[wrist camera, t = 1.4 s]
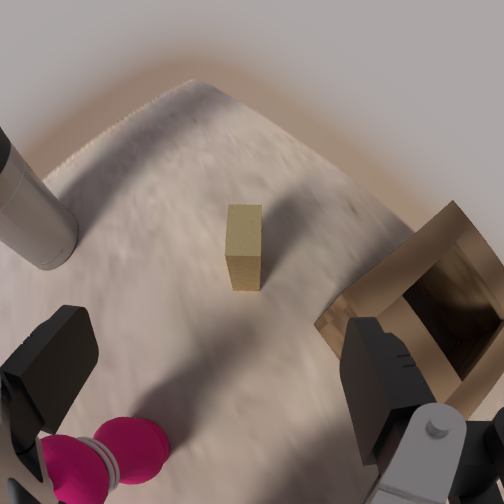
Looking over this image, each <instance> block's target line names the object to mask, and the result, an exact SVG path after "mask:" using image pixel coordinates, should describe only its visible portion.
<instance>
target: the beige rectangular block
mask: <svg viewBox="0 0 504 504" xmlns="http://www.w3.org/2000/svg"><path fill="white" fill-rule="evenodd" d="M261 215H262V205H228V217H227V232H226V247H225V258H226V262H227V266H228V271H229V275H230V279H231V283H232V288H233V291H260V271H261Z"/></svg>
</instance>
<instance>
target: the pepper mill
mask: <svg viewBox="0 0 504 504" xmlns="http://www.w3.org/2000/svg"><path fill="white" fill-rule="evenodd" d="M40 440H41V444H42V449H43V454H44V459H45V463H46V468H47V472H48V476H49V480H50V484H51V487H52V490H53V492H54V494H55V496H56V498H57V499H58V500H60V501H62V502H65V503H67V504H104V502H105V500H106V498H107V496H108V494H109V493H111V492H112V491H114V490H115V489H116V487H117V485H118V483H123V484H140V483H144V482H146V481H148V480H150V479H152V478H153V477H155V476H156V475H157V474H158V473H159V472H160V470H161V468H162V466H163V464H164V463H165V461H166V460H167V458H168V455H169V451H170V446H169V441H168V438H167V436H166V435H165V433H164V431H163V430H162V429H161V428H160V427H159V426H158V425H157V424H155V423H154V422H152V421H149V420H147V419H141V418H136V419H134V418H130V417H118V418H115V419H112V420H109V421H107V422H105V423H104V424H103V425H101V427H100V428H99V429H98V430H97V431H96V433H95V435H94V437H93V439H92V438H89V437H78V438H74V437H70V436H67V435H58V434H57V435H50V436H47V437H44V438H42V439H40Z"/></svg>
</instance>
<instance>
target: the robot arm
mask: <svg viewBox="0 0 504 504" xmlns="http://www.w3.org/2000/svg"><path fill="white" fill-rule="evenodd" d="M77 238H78V225H77V223H76V220H75V219H74V217H73V216H72V215H71V214H70V213H69V212H68V211H67V210H66V208H65V207H64V206H63V205H62V204H61V203H60V202H59V200H58V199H57V198H56V197H55V196H54V195H53V194H52V192H51V191H50V190H49V189H48V188H47V187H46V185H45V184H44V183H43V182H42V181H41V179H40V178H39V177H38V176H37V175H36V174H35V172H34V171H33V170H32V169H31V167H30V166H29V165H28V164H27V162H26V161H25V160H24V159H23V157H22V156H21V155H20V154H19V152H18V151H17V150H16V148H15V147H14V146H13V145H12V143H11V142H10V140H9V139H8V138H7V136H6V135H5V133H4V132H3V130H2V129H1V127H0V241H2V242H3V243H4V244H6V245H7V246H8V247H10V248H11V249H12V250H14V251H15V252H16V253H18V254H19V255H21V256H22V257H23V258H25V259H26V260H27V261H29V262H30V263H32V264H33V265H35V266H36V267H38V268H39V269H42V270H51V269H54V268H56V267H58V266H60V265H61V264H62V263H63V262H65V261H66V259H67V258H68V257H69V256H70V254H71V253H72V251H73V249H74V247H75V245H76V242H77ZM98 356H99V349H98V345H97V341H96V338H95V335H94V331H93V328H92V325H91V321H90V317H89V314H88V311H87V310H86V308H84V307H80V306H71V305H63V306H61V307H60V308H59V309H58V310H57V311H56V312H55V313H54V314H53V315H52V316H51V317H50V318H49V319H48V320H47V321H45V322H43V323H42V324H40V325H38V327H37V328H36V329H35V330H34V331H33V332H32V333H31V334H30V337H29V336H28V337H27V338H26V339H25V340H24V341H23V344H21V345H20V346H19V347H18V348H17V349H16V350H15V351H14V352H13V353H12V355H11V356H10V357H9V358H8V359H7V360H6V361H5V363H4V364H3V365H2V366H1V367H0V504H67V503H65V502H62V501H60V500H58V499H57V498H56V496H55V494H54V492H53V490H52V487H51V484H50V480H49V476H48V472H47V468H46V463H45V459H44V454H43V449H42V444H41V440H40V438H39V437H38V436H37V435H38V434H39V432H40V430H41V431H44V432H46V433H49V434H52V435H55V434H56V432H57V430H58V428H59V427H60V425H61V423H62V421H63V419H64V418H65V416H66V414H67V412H68V411H69V409H70V407H71V405H72V404H73V402H74V400H75V399H76V397H77V395H78V394H79V392H80V390H81V389H82V387H83V385H84V384H85V382H86V380H87V379H88V377H89V375H90V374H91V372H92V370H93V369H94V367H95V366H96V364H97V361H98ZM340 378H341V382H342V386H343V389H344V393H345V396H346V400H347V404H348V408H349V411H350V415H351V419H352V423H353V427H354V431H355V435H356V439H357V443H358V447H359V451H360V455H361V459H362V463H363V466H365V465H371V464H377V466H378V470H379V473H378V475H377V476H376V478H375V480H374V481H373V483H372V485H371V487H370V488H369V490H368V492H367V493H366V495H365V496H364V498H363V500H362V501H361V503H360V504H446V500H447V497H448V500H449V504H504V502H503V499H502V496H501V493H500V491H499V488H498V485H497V483H496V482H497V481H498V480H499V479H500V480H501V482H502V485H503V488H504V407H503V408H501V409H500V410H499V411H498V412H497V414H496V415H495V417H494V418H493V420H492V421H465V420H464V418H463V416H462V415H461V414H460V413H459V412H458V411H457V410H456V409H454V408H453V407H451V406H449V405H446V404H442V403H437V401H436V399H435V397H434V395H433V393H432V391H431V389H430V388H429V386H428V384H427V382H426V380H425V378H424V377H423V375H422V373H421V371H420V370H419V368H418V367H416V362H415V361H414V359H413V357H411V354H410V352H409V350H408V349H407V347H406V345H405V343H404V342H403V341H402V340H400V339H399V338H398V337H397V336H395V335H394V334H393V333H392V332H390V333H385V332H384V331H383V329H382V327H381V325H380V323H379V322H378V320H377V318H376V317H351V318H349V320H348V323H347V328H346V333H345V338H344V343H343V348H342V353H341V358H340Z"/></svg>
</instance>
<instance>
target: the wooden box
mask: <svg viewBox="0 0 504 504" xmlns="http://www.w3.org/2000/svg"><path fill="white" fill-rule="evenodd" d="M415 282H417V284H418V285H419V286H420V288H421V289H422V290H423V292H424V293H425V294H426V296H427V297H428V298H429V300H430V301H431V303H432V304H433V305H434V307H435V308H436V310H437V311H438V312H439V314H440V315H441V317H442V318H443V319H444V321H445V322H446V324H447V325H448V327H449V328H450V330H451V331H452V333H453V334H454V336H455V337H456V338H457V340H458V342H459V344H458V345H457V346H456V347H455V348H454V349H453V351H452V352H451V353H450V354H449V355H448V356H447V357H446V356H445V355H444V353H443V352H442V351H441V349H440V348H439V346H438V345H437V343H436V342H435V340H434V339H433V337H432V336H431V335H430V333H429V332H428V330H427V329H426V327H425V326H424V325H423V323H422V322H421V320H420V319H419V318H418V316H417V315H416V314H415V312H414V311H413V309H412V308H411V307H410V305H409V304H408V303H407V301H406V300H405V299H404V297H403V296H402V294H403V293H404V292H405V291H406V290H407V289H408V288H410V287H411V286H412V285H413V284H414V283H415ZM351 317H376V318H377V320H378V322H379V323H380V325H381V327H382V329H383V331H384V332H385V333H390V332H392V333H393V334H394V335H395V336H397V337H398V338H399V339H400V340H402V341H403V342H404V343H405V345H406V347H407V349H408V350H409V352H410V354H411V357H413V359H414V361H415V362H416V367H418V368H419V370H420V371H421V373H422V375H423V377H424V378H425V380H426V382H427V384H428V386H429V388H430V389H431V391H432V393H433V395H434V397H435V399H436V401H437V403H442V404H446V405H449V406H451V407H453V408H454V409H456V410H457V411H458V412H459V413H460V414H461V415H462V416H463V418H464V420H465V421H467V420H468V419H469V417H470V416H471V415H472V414H473V413H474V411H475V410H476V409H477V408H478V406H479V405H480V404H481V403H482V401H483V400H484V399H485V397H486V396H487V395H488V393H489V392H490V391H491V389H492V388H493V387H494V385H495V384H496V382H497V381H498V380H499V378H500V377H501V375H502V374H503V372H504V266H503V264H502V263H501V261H500V260H499V259H498V257H497V256H496V254H495V253H494V251H493V250H492V249H491V247H490V246H489V245H488V243H487V242H486V240H485V239H484V238H483V237H482V235H481V234H480V233H479V231H478V230H477V229H476V227H475V226H474V225H473V224H472V222H471V221H470V220H469V219H468V217H467V216H466V215H465V214H464V213H463V211H462V210H461V209H460V208H459V207H458V206H457V204H456V203H455V202H454V201H451V202H450V203H449V204H448V205H447V206H446V207H445V208H444V209H442V210H441V211H440V212H439V213H438V214H437V215H436V216H435V217H433V218H432V219H431V220H430V221H429V222H428V223H427V224H425V225H424V226H423V227H422V228H421V229H420V230H419V231H417V232H416V233H415V234H414V235H413V236H412V237H410V238H409V239H408V240H407V241H406V242H404V243H403V244H402V245H401V246H400V247H398V248H397V249H396V250H395V251H394V252H392V253H391V254H390V255H389V256H387V257H386V258H385V259H384V260H382V261H381V262H380V263H379V264H377V265H376V266H375V267H374V268H372V269H371V270H370V271H369V272H367V273H366V274H365V275H364V276H362V277H361V278H360V279H358V280H357V281H356V282H354V283H353V284H352V285H351V286H349V287H348V288H347V289H345V290H344V291H343V292H342V294H341V295H340V296H339V297H338V298H337V299H336V300H335V301H334V303H333V304H332V305H331V306H330V307H329V308H328V309H327V310H326V312H325V313H324V314H323V315H322V316H321V317H320V318H319V319H318V320H317V321H316V323H315V324H314V326H315V327H316V329H317V330H318V331H319V333H320V334H321V335H322V337H323V338H324V339H325V341H326V342H327V344H328V345H329V346H330V348H331V349H332V350H333V352H334V353H335V354H336V356H337V357H338V359H339V360H340V358H341V353H342V348H343V343H344V338H345V333H346V328H347V323H348V320H349V318H351Z"/></svg>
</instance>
